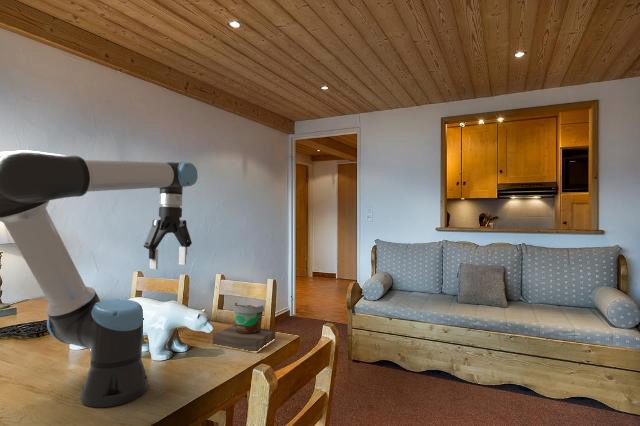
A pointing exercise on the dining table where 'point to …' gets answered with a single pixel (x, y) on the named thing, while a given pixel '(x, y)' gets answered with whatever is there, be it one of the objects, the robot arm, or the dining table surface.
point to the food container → (248, 319)
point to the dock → (243, 339)
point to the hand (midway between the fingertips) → (168, 266)
